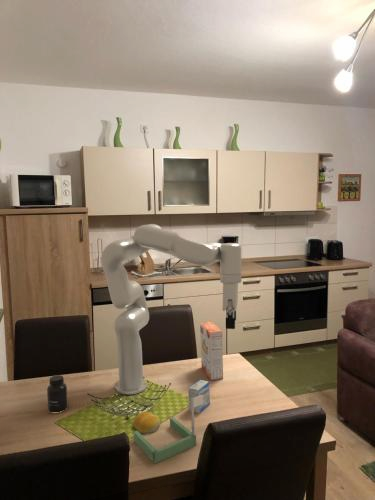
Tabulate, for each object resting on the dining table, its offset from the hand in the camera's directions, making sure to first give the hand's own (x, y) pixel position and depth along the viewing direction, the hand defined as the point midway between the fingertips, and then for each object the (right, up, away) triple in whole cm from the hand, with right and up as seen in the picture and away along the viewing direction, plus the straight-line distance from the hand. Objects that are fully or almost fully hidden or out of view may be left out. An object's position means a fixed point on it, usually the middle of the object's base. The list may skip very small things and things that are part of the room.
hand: (231, 324), depth 140 cm
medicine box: (-11, -30, 0) cm, 32 cm away
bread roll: (-29, -32, -11) cm, 45 cm away
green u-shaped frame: (-21, -33, -20) cm, 44 cm away
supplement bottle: (-63, -31, +1) cm, 70 cm away
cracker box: (-5, -27, +28) cm, 39 cm away
